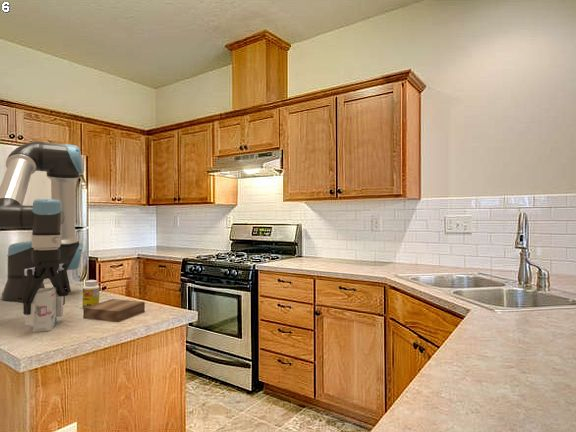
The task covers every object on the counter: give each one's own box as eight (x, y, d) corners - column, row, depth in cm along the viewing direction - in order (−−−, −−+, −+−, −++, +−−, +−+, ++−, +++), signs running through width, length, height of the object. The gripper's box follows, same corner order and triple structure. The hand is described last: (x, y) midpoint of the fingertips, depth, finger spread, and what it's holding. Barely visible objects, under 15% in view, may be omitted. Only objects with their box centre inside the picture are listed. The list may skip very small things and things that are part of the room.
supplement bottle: (79, 308, 140) (79, 281, 140) (93, 305, 145) (93, 279, 145) (88, 310, 137) (88, 282, 137) (102, 307, 142) (102, 280, 142)
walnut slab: (83, 319, 128) (83, 307, 128) (112, 309, 141) (112, 298, 141) (118, 323, 124) (118, 311, 124) (144, 312, 138) (144, 301, 138)
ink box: (39, 324, 120) (39, 287, 120) (57, 323, 122) (57, 286, 121) (31, 332, 112) (32, 292, 112) (50, 330, 114) (51, 292, 113)
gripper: (22, 252, 105) (20, 332, 105) (84, 246, 126) (82, 312, 126) (1, 251, 107) (-1, 329, 107) (66, 245, 128) (64, 310, 128)
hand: (44, 320), depth 117 cm, fingers closed on ink box, 9 cm apart
